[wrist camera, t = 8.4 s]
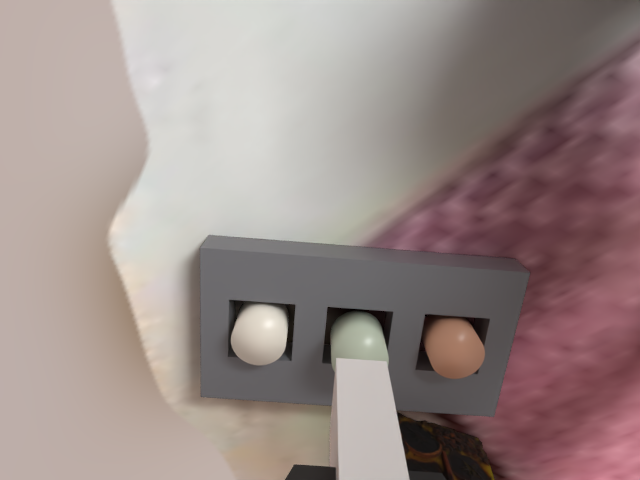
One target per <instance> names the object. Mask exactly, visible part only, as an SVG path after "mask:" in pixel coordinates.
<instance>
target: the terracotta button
mask: <svg viewBox="0 0 640 480" xmlns="http://www.w3.org/2000/svg"><path fill="white" fill-rule="evenodd" d="M421 339H422V341H423V344H424V347H425V349H426V352H427V355H428V357H429V360H430V362H431V365H432V367H433V369H434V370H435V371H436V372H437V373H438V374H439V375H441V376H443V377H446V378H450V379H460V378H464V377H467V376H469V375H471V374H473V373H474V372H476V371H477V370H478V369H479V367H480V366H481V365H482V363H483V361H484V357H485V349H484V346H483V344H482V342H481V340H480V339H479V337H478V335H477V334H476V332H475V330H474V329H473V327H472V325H471V324H470V322H469V320H468V319H467V317H460V316H446V315H433V314H429V315H428V316H427V317H426V318H425V319H424V323H423V329H422V335H421Z"/></svg>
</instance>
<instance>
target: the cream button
mask: <svg viewBox="0 0 640 480" xmlns="http://www.w3.org/2000/svg"><path fill="white" fill-rule="evenodd" d="M288 325H289V312H288V309H287V307H286V306H285V304H282V303H269V302H255V301H245V302H244V303H243V305H242V306H241V309H240V311H239V314H238V317H237V320H236V323H235V326H234V329H233V332H232V335H231V345H232V348H233V351H234V352H235V354H236V355H237V356H238V357H239V358H240V359H241V360H243V361H245V362H247V363H249V364H253V365H267V364H270V363H273V362H275V361H276V360H277V359H279V358H280V357H281V356H282V354H283V353H284V350H285V347H286V341H287V333H288Z"/></svg>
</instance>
